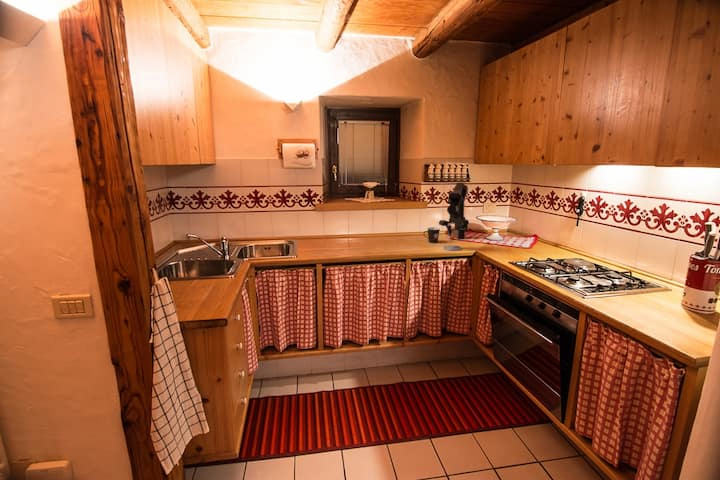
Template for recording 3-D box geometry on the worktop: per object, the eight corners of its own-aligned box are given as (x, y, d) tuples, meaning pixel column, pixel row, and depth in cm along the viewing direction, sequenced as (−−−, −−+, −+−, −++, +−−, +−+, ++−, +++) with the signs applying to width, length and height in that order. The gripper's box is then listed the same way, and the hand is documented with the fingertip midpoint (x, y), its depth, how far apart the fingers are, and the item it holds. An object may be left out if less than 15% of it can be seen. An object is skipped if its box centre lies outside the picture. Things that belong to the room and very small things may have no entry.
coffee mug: (438, 240, 259) (439, 227, 257) (439, 243, 251) (440, 229, 249) (422, 240, 261) (422, 227, 258) (423, 243, 252) (423, 229, 250)
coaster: (440, 246, 243) (440, 246, 243) (456, 245, 245) (456, 244, 245) (448, 251, 231) (448, 250, 231) (465, 250, 234) (465, 249, 233)
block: (448, 236, 239) (448, 228, 237) (453, 235, 239) (454, 228, 238) (452, 238, 233) (452, 230, 232) (458, 237, 234) (458, 230, 232)
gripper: (446, 214, 223) (445, 238, 227) (473, 213, 226) (472, 237, 230) (439, 211, 233) (438, 234, 237) (465, 210, 237) (463, 233, 241)
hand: (453, 235), depth 236 cm, fingers closed on block, 4 cm apart
